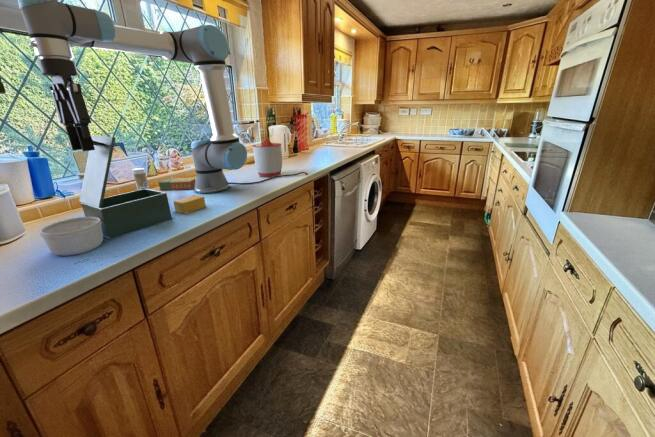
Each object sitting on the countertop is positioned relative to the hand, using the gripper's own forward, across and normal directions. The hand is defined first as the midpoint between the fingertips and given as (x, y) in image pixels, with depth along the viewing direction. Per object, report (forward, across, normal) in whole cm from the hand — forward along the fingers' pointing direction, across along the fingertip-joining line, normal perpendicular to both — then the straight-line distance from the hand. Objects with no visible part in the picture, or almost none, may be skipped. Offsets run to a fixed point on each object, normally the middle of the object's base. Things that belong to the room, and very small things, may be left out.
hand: (83, 149), depth 86 cm
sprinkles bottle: (+26, -28, +26) cm, 46 cm away
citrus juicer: (+26, -12, +87) cm, 92 cm away
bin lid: (+7, 0, +2) cm, 7 cm away
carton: (+26, -34, +46) cm, 63 cm away
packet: (+26, +2, +27) cm, 38 cm away
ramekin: (+26, +5, -10) cm, 28 cm away
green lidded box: (+26, 0, +7) cm, 27 cm away
